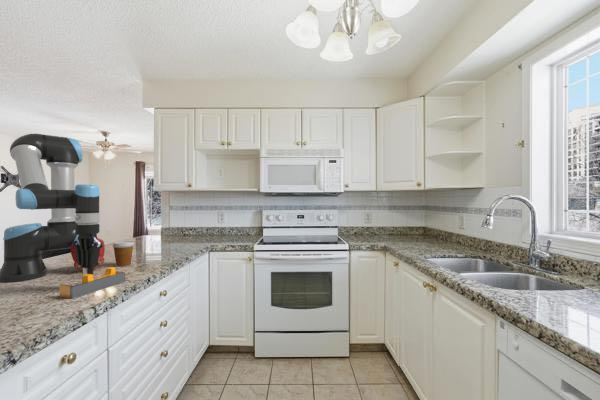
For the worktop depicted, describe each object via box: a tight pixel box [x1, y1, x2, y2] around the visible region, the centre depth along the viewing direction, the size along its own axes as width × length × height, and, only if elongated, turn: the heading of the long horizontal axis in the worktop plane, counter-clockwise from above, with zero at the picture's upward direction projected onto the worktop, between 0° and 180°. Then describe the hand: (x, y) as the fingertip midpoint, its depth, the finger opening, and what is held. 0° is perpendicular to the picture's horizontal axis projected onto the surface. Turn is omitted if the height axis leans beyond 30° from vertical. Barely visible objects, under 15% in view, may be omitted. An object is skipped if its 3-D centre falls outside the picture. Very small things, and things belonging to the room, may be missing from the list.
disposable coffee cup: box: [112, 240, 135, 268], centre depth 141 cm, size 10×10×12 cm
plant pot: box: [70, 237, 106, 271], centre depth 131 cm, size 13×13×12 cm
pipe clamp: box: [81, 266, 117, 284], centre depth 107 cm, size 12×4×6 cm, turn 169°
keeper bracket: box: [59, 270, 126, 299], centre depth 105 cm, size 7×20×4 cm, turn 162°
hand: (87, 283), depth 106 cm, fingers closed
